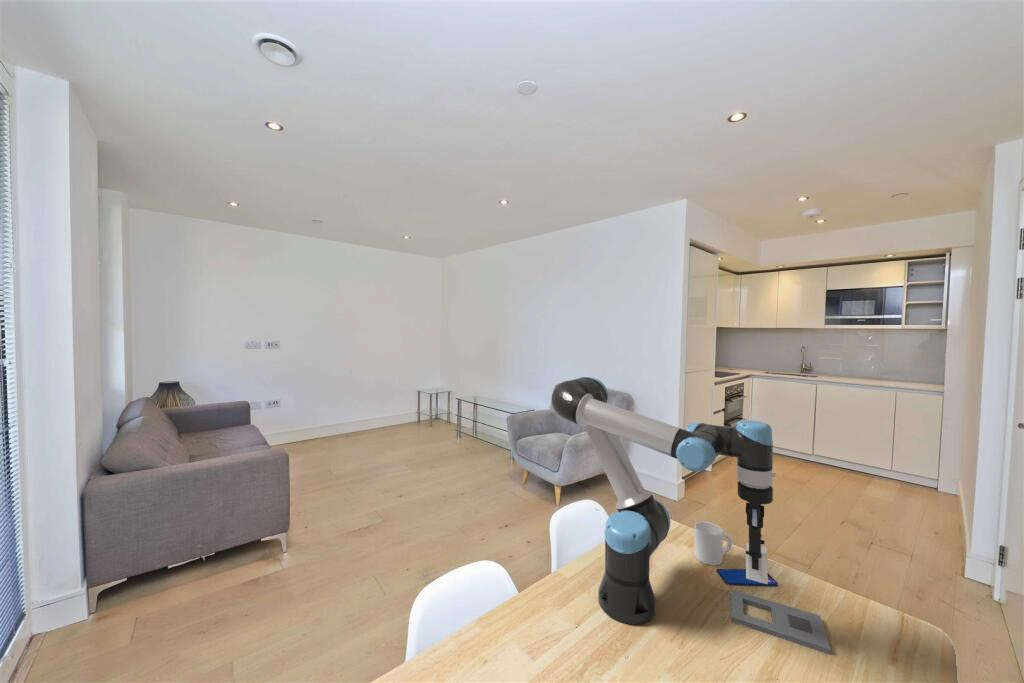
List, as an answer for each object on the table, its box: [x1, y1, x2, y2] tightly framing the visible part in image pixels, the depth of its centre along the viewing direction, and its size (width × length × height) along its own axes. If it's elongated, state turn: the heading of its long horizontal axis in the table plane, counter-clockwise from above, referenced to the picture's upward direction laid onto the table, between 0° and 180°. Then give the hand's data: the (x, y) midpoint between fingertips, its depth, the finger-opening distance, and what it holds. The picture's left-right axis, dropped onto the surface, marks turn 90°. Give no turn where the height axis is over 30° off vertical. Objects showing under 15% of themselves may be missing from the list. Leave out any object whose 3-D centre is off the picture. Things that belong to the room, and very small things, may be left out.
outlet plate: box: [730, 588, 831, 655], centre depth 99 cm, size 20×12×1 cm, turn 60°
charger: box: [745, 542, 769, 584], centre depth 97 cm, size 4×4×7 cm
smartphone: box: [716, 568, 779, 587], centre depth 116 cm, size 7×1×15 cm
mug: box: [693, 521, 733, 567], centre depth 125 cm, size 12×8×10 cm
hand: (755, 574), depth 97 cm, fingers closed on charger, 4 cm apart
